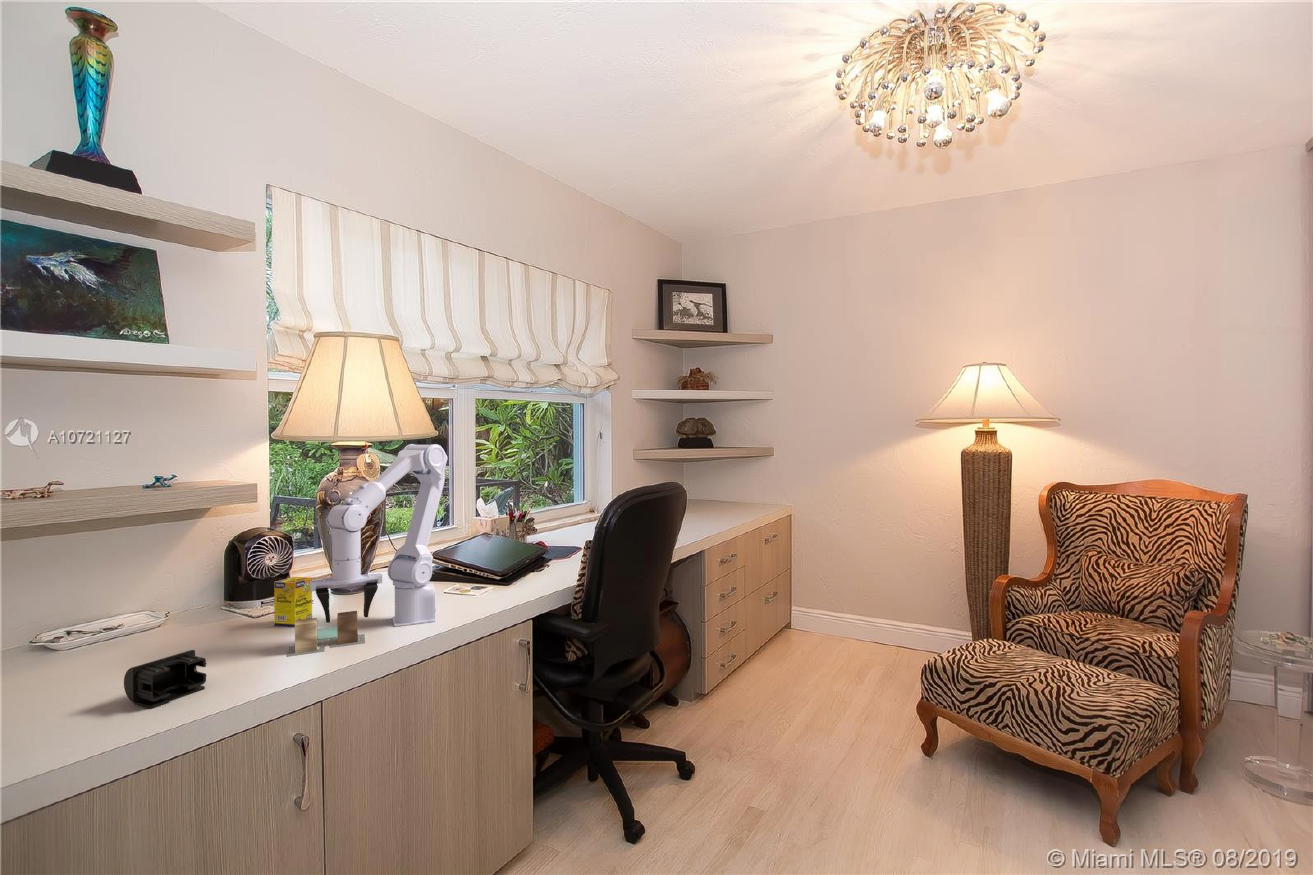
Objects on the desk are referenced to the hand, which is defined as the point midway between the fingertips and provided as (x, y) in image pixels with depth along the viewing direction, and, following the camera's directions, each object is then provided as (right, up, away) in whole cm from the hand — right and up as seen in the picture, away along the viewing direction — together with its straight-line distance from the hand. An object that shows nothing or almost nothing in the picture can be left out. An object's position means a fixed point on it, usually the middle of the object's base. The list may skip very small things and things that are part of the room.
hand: (347, 619), depth 142 cm
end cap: (-18, -6, -29) cm, 34 cm away
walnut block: (0, -5, 0) cm, 5 cm away
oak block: (-6, -5, -5) cm, 10 cm away
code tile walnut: (0, -5, 0) cm, 5 cm away
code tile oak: (-6, -5, -5) cm, 10 cm away
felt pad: (-9, -5, +5) cm, 11 cm away
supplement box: (-20, -5, +14) cm, 25 cm away
